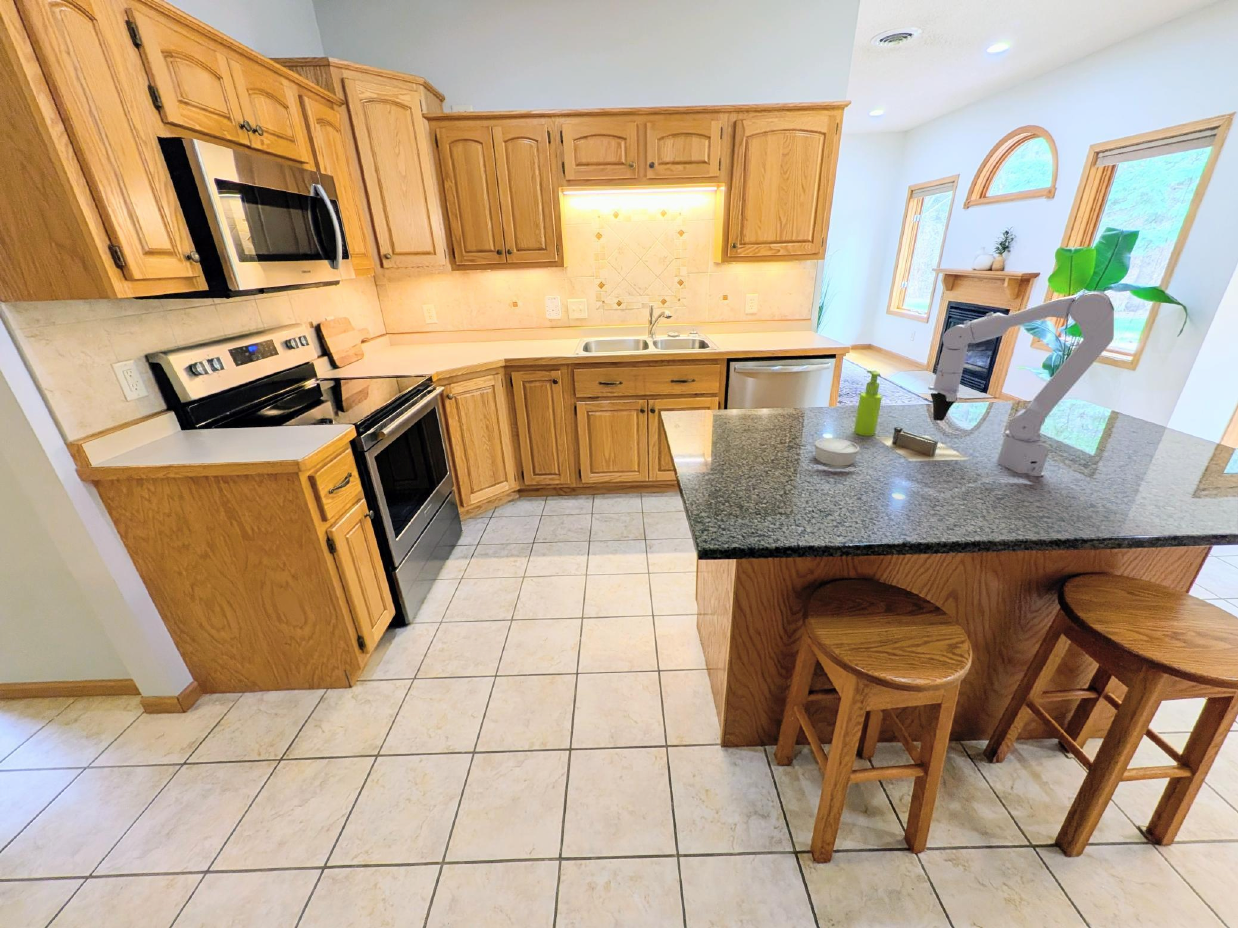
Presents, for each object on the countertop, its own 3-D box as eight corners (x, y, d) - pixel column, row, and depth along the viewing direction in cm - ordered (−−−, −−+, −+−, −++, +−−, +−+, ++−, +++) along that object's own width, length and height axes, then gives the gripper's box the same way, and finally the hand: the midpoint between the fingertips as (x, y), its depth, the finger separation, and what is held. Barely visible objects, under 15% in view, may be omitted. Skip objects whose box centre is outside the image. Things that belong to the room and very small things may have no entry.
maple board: (968, 463, 133) (969, 459, 133) (909, 464, 133) (910, 460, 133) (926, 439, 151) (927, 435, 150) (874, 440, 151) (874, 437, 150)
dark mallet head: (888, 443, 145) (892, 428, 143) (894, 441, 146) (897, 426, 144) (929, 456, 135) (933, 440, 133) (935, 455, 136) (939, 439, 134)
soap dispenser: (868, 431, 158) (880, 369, 150) (877, 439, 152) (889, 374, 144) (849, 431, 159) (860, 369, 151) (857, 439, 152) (868, 374, 145)
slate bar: (900, 444, 144) (903, 431, 142) (902, 443, 144) (904, 430, 143) (933, 455, 135) (936, 441, 134) (935, 455, 136) (938, 441, 134)
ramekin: (860, 472, 130) (864, 453, 128) (815, 469, 132) (818, 451, 130) (851, 456, 140) (854, 439, 138) (809, 454, 142) (811, 436, 140)
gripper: (926, 365, 141) (916, 411, 146) (939, 376, 128) (927, 426, 133) (955, 366, 138) (944, 413, 144) (971, 378, 126) (958, 428, 131)
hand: (938, 419), depth 138 cm, fingers closed
